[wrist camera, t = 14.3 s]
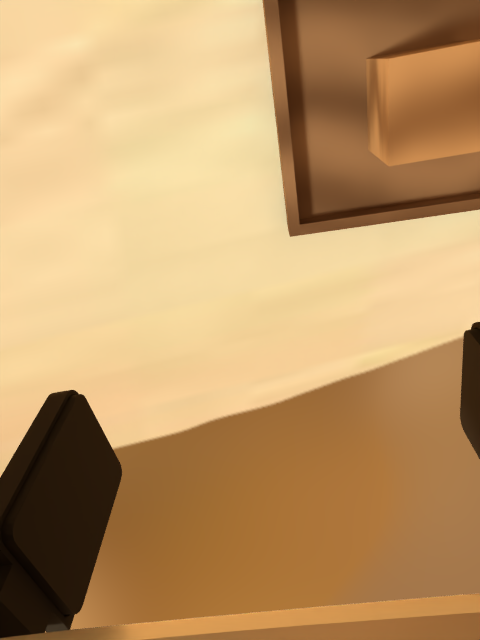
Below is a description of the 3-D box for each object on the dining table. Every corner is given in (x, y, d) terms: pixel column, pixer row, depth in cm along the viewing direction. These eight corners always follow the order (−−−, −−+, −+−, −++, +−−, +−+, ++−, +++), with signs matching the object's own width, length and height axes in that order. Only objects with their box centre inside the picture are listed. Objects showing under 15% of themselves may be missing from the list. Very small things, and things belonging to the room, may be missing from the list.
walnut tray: (260, -19, 27) (260, -25, 25) (567, -83, 25) (595, -95, 23) (287, 226, 35) (289, 236, 33) (523, 191, 33) (541, 200, 31)
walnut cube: (365, 58, 28) (388, 58, 23) (456, 41, 27) (499, 37, 22) (368, 149, 31) (388, 166, 26) (450, 135, 30) (487, 150, 25)
